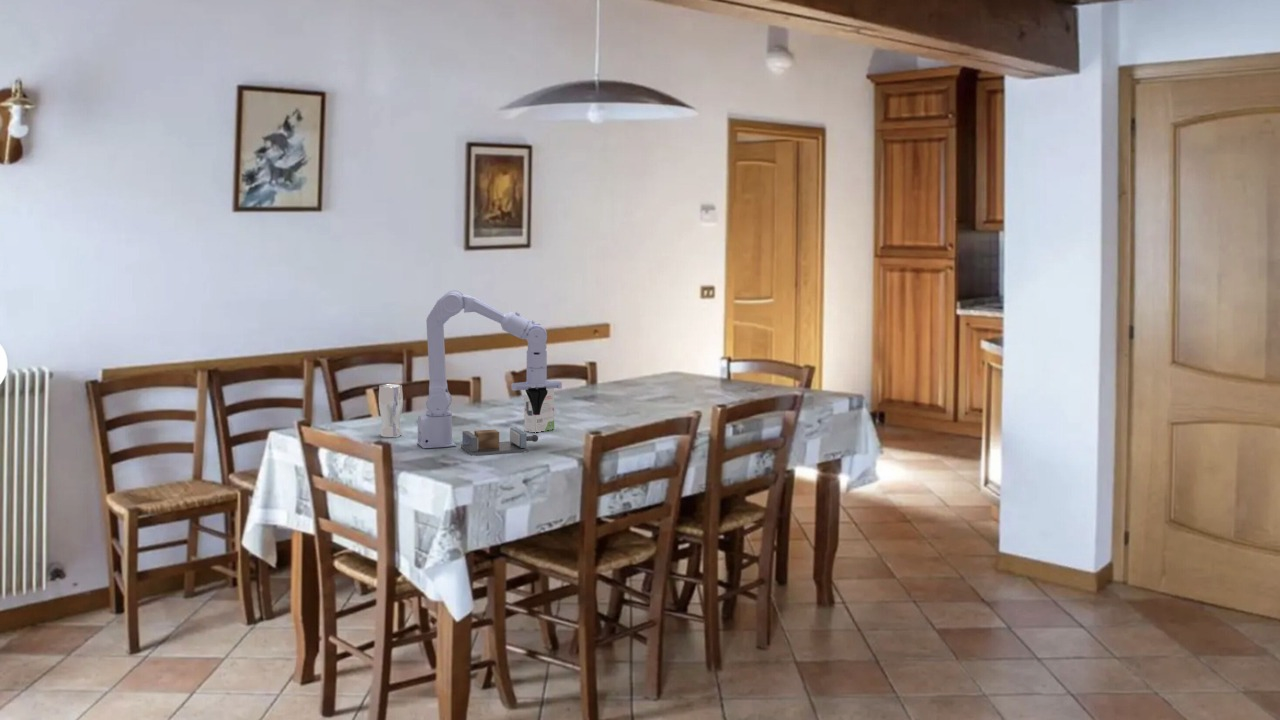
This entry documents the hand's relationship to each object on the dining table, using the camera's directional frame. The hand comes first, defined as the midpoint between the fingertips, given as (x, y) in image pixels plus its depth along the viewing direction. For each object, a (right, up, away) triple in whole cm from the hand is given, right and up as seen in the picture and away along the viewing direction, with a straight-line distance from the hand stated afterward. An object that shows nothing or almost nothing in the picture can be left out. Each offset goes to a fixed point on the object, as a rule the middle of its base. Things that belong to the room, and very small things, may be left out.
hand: (536, 414), depth 326 cm
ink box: (-1, -6, +23) cm, 24 cm away
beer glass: (-44, -7, +11) cm, 46 cm away
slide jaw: (-3, -8, -3) cm, 9 cm away
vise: (-11, -10, -6) cm, 16 cm away
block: (-13, -9, -7) cm, 17 cm away
